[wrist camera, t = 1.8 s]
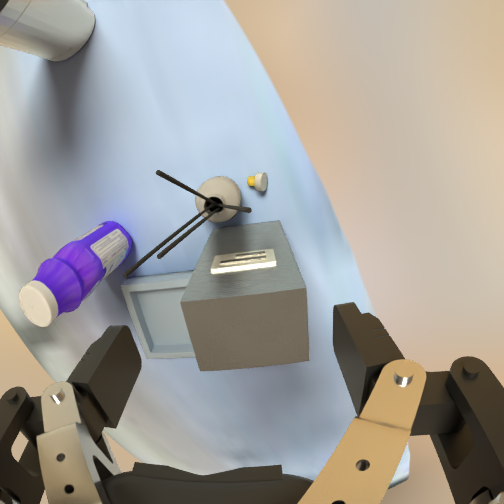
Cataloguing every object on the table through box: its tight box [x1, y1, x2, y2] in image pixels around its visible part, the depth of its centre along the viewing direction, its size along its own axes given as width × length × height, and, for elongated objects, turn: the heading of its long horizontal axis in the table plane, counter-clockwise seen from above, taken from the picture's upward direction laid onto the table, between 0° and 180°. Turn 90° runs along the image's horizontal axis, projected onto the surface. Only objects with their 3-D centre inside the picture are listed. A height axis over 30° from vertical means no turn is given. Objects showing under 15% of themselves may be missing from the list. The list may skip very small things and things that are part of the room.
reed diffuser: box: [123, 170, 268, 278], centre depth 24 cm, size 10×7×20 cm
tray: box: [121, 270, 196, 359], centre depth 38 cm, size 12×12×2 cm
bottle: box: [19, 221, 132, 327], centre depth 28 cm, size 7×6×17 cm
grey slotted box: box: [180, 220, 309, 371], centre depth 28 cm, size 7×8×18 cm
